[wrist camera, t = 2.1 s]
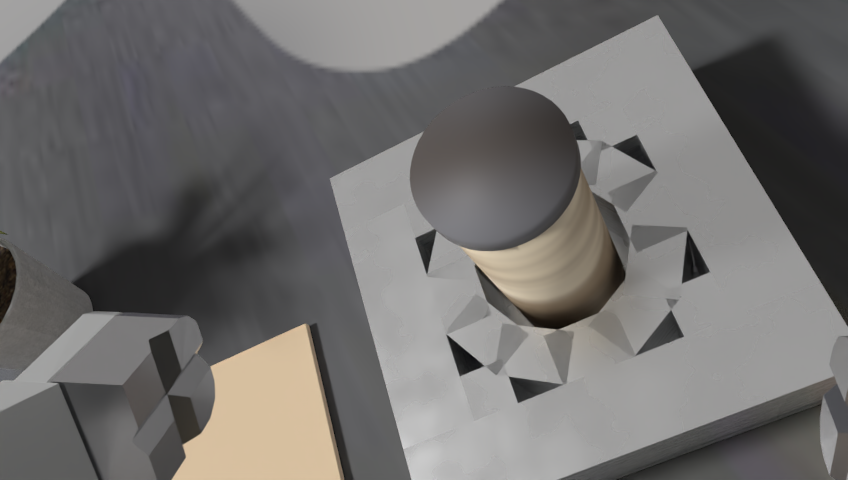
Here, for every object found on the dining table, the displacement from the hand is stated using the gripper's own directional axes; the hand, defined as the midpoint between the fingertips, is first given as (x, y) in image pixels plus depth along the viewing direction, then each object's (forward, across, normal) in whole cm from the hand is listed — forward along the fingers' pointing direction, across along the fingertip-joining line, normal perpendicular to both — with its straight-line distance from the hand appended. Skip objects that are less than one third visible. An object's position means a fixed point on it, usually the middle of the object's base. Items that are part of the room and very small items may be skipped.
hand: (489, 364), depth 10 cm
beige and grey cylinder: (+21, 0, +12) cm, 24 cm away
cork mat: (+17, +15, +20) cm, 30 cm away
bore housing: (+21, -1, +12) cm, 25 cm away
